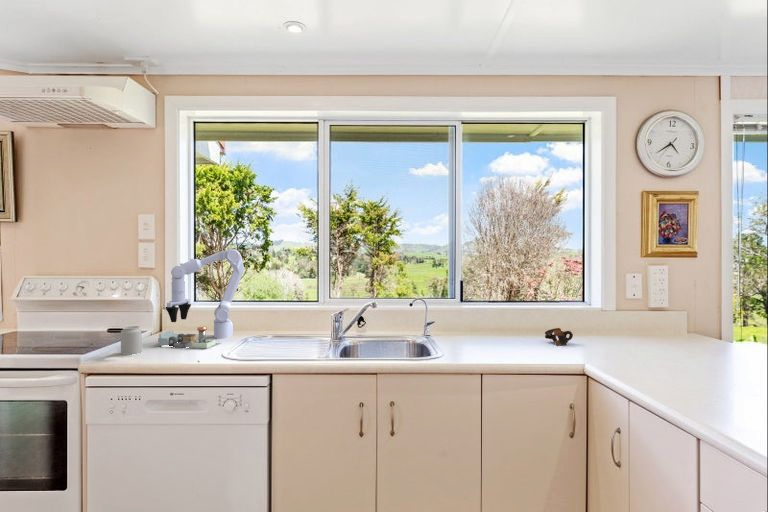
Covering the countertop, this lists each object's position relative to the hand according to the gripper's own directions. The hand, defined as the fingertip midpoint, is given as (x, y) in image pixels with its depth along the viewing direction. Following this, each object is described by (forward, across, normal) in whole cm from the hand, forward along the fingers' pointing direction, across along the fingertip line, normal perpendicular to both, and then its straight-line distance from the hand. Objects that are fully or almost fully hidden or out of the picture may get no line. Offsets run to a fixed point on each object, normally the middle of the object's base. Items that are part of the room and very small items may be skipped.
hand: (178, 320), depth 208 cm
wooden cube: (+9, +6, +9) cm, 14 cm away
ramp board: (+10, +9, +11) cm, 18 cm away
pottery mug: (+11, -24, +174) cm, 176 cm away
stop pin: (+9, +11, +19) cm, 23 cm away
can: (+11, +26, -4) cm, 28 cm away
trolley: (+9, +9, +3) cm, 13 cm away
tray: (+9, +11, +19) cm, 24 cm away
